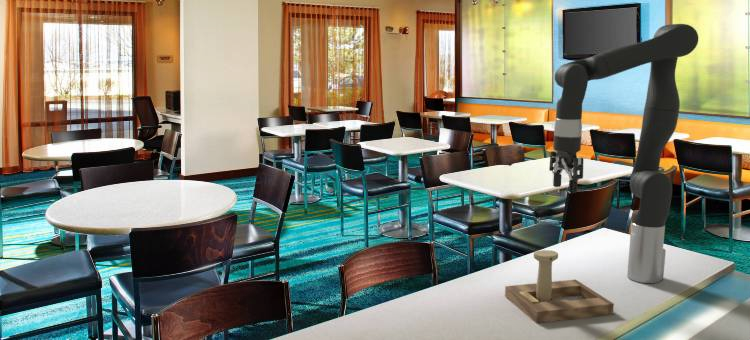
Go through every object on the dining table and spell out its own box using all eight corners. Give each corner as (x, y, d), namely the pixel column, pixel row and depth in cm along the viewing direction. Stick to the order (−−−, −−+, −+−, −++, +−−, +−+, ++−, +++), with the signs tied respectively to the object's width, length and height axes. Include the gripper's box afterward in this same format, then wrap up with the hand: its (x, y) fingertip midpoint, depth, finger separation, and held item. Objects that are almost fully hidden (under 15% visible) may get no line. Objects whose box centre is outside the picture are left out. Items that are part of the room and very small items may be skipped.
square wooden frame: (575, 289, 177) (575, 278, 177) (612, 314, 160) (613, 302, 159) (505, 296, 172) (505, 285, 171) (536, 323, 155) (536, 310, 154)
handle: (558, 308, 164) (561, 254, 161) (538, 311, 162) (540, 257, 159) (548, 301, 168) (550, 249, 166) (527, 304, 166) (530, 251, 163)
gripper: (593, 137, 170) (590, 194, 172) (566, 131, 183) (563, 184, 186) (569, 138, 168) (566, 195, 171) (543, 131, 181) (540, 185, 184)
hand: (564, 189), depth 178 cm, fingers open, 8 cm apart
